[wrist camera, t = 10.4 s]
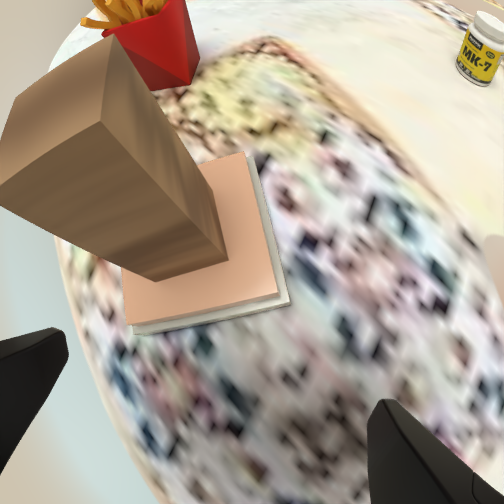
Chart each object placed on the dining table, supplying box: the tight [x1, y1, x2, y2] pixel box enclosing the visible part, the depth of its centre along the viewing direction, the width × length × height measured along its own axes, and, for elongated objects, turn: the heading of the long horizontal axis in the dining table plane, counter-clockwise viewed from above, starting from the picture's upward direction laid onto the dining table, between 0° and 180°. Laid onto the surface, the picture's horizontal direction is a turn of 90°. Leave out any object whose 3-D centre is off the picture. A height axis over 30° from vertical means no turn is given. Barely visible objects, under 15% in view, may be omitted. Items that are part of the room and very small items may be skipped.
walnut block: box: [0, 33, 229, 282], centre depth 13 cm, size 5×5×13 cm
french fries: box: [80, 0, 200, 91], centre depth 22 cm, size 9×8×15 cm
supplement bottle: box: [456, 11, 504, 86], centre depth 19 cm, size 5×5×8 cm
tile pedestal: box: [121, 151, 291, 335], centre depth 21 cm, size 11×11×3 cm
